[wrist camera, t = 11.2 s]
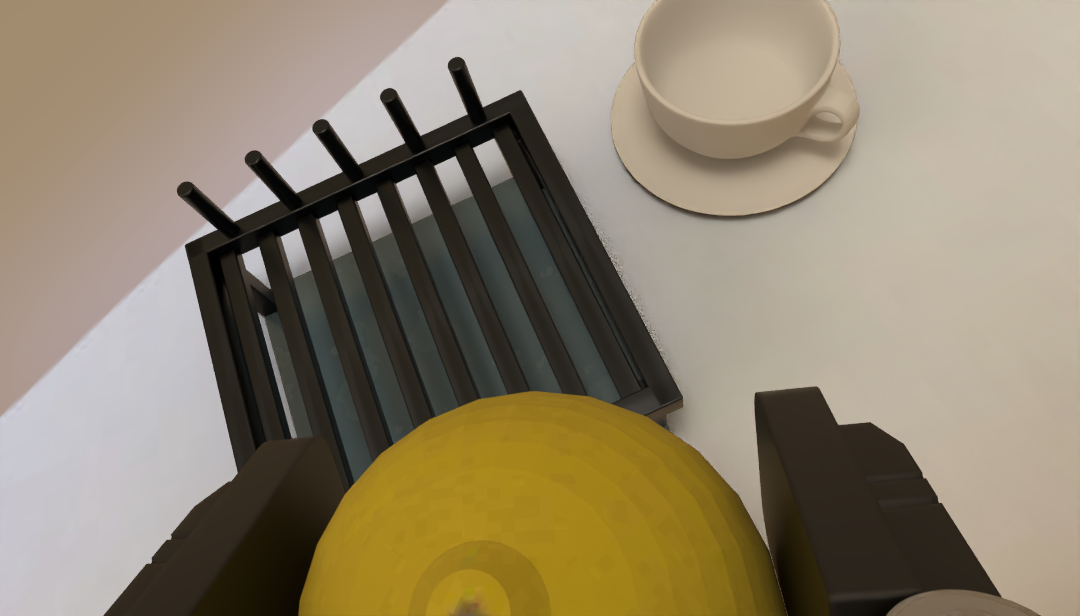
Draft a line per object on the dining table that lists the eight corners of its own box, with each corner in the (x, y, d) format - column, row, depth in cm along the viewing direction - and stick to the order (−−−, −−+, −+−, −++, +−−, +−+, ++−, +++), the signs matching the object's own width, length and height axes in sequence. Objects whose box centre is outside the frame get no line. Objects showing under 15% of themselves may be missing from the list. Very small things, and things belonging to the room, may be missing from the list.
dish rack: (545, 166, 34) (503, 31, 26) (685, 439, 28) (682, 365, 20) (255, 300, 34) (130, 203, 26) (336, 600, 28) (207, 584, 20)
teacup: (567, 156, 34) (549, 86, 29) (691, -4, 36) (691, -91, 32) (776, 264, 30) (790, 201, 26) (900, 78, 32) (932, -8, 28)
